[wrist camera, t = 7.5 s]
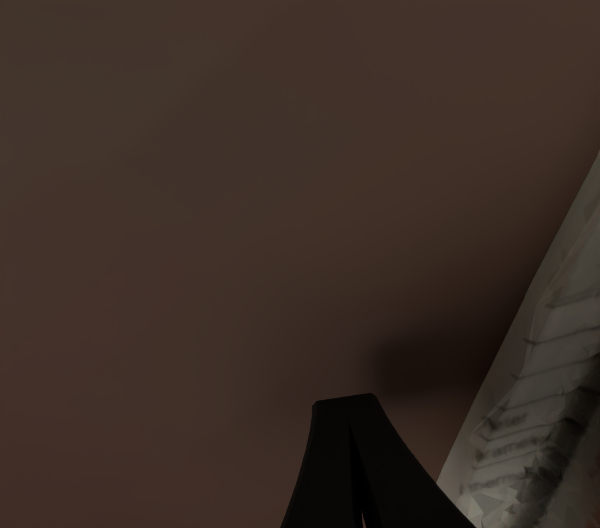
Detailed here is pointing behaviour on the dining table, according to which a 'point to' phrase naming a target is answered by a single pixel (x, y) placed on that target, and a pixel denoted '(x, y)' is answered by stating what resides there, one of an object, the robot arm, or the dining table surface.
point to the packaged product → (541, 396)
